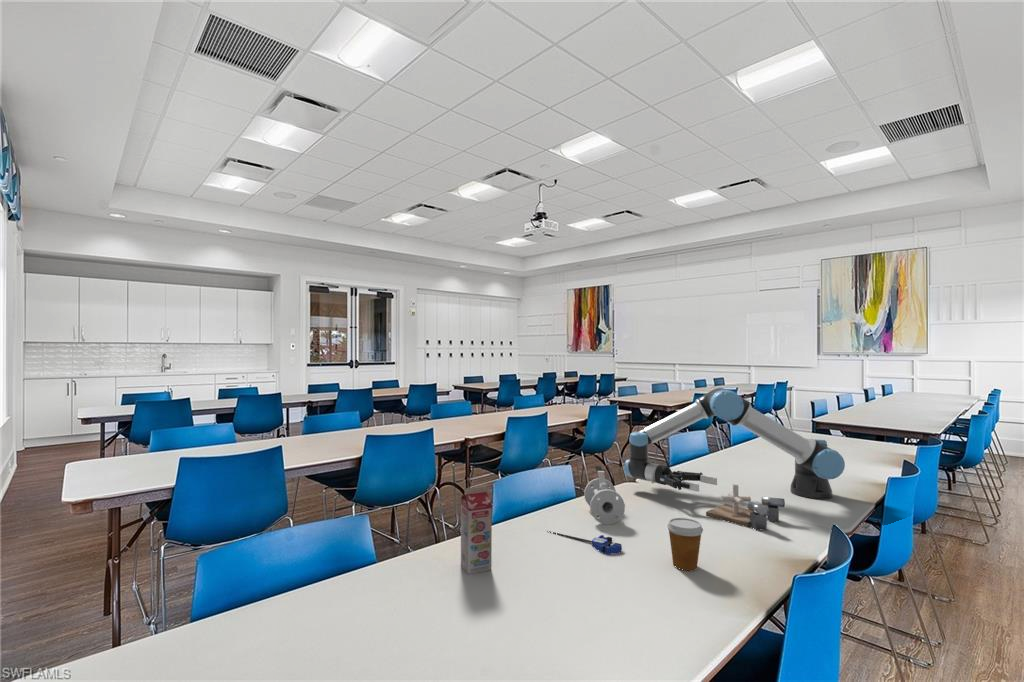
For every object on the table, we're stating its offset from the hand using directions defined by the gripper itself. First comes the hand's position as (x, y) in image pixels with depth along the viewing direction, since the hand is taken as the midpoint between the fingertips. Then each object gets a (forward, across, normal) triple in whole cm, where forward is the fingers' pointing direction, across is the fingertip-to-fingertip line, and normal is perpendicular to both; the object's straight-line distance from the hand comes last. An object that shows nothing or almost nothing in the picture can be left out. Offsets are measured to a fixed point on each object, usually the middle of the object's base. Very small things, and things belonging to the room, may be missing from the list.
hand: (707, 484), depth 188 cm
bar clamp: (-13, +60, -10) cm, 62 cm away
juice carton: (-16, +97, -9) cm, 99 cm away
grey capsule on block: (+21, -6, -9) cm, 24 cm away
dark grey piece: (+21, +6, -9) cm, 24 cm away
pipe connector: (+11, 0, -8) cm, 13 cm away
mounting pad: (+11, 0, -9) cm, 14 cm away
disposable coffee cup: (+21, +52, -10) cm, 57 cm away
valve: (-22, +35, -10) cm, 43 cm away
